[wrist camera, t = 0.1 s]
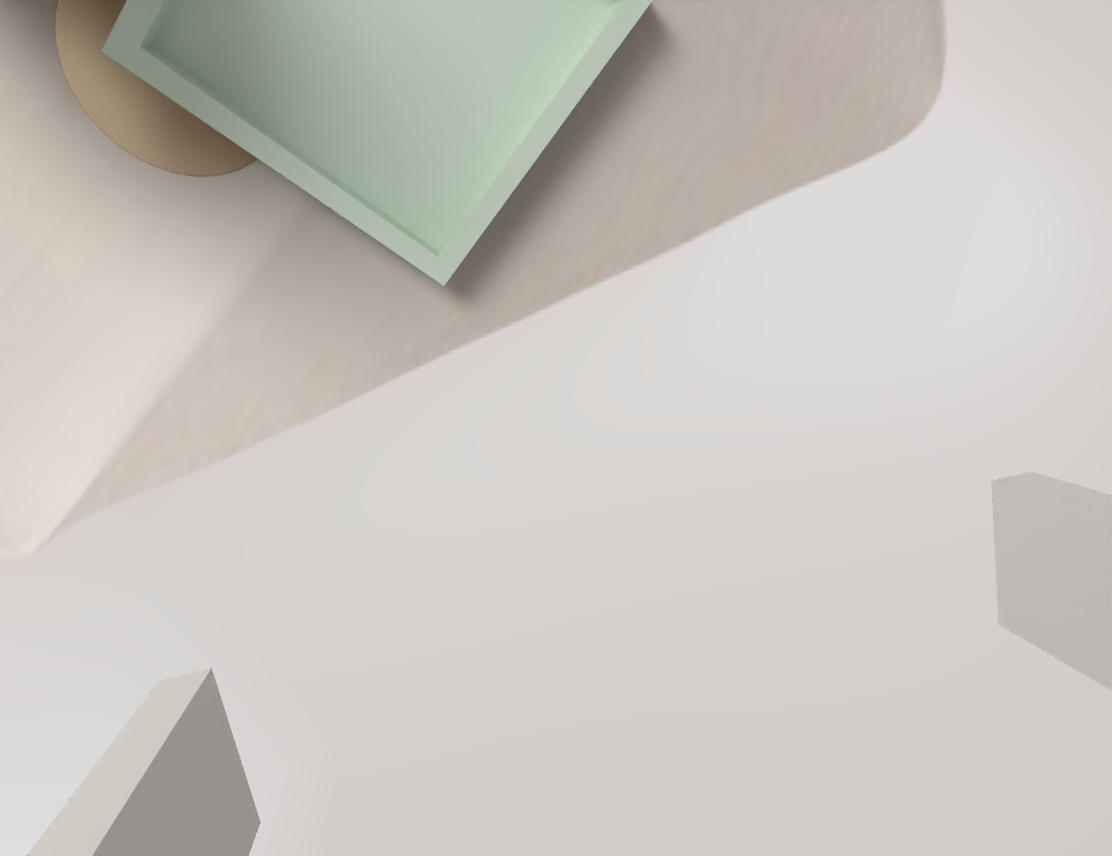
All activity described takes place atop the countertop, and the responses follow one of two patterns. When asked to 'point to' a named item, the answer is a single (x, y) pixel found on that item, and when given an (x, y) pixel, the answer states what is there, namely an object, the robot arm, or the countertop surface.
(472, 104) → the tray
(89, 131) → the countertop surface
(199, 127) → the copper metal coaster
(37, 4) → the countertop surface
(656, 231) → the countertop surface
